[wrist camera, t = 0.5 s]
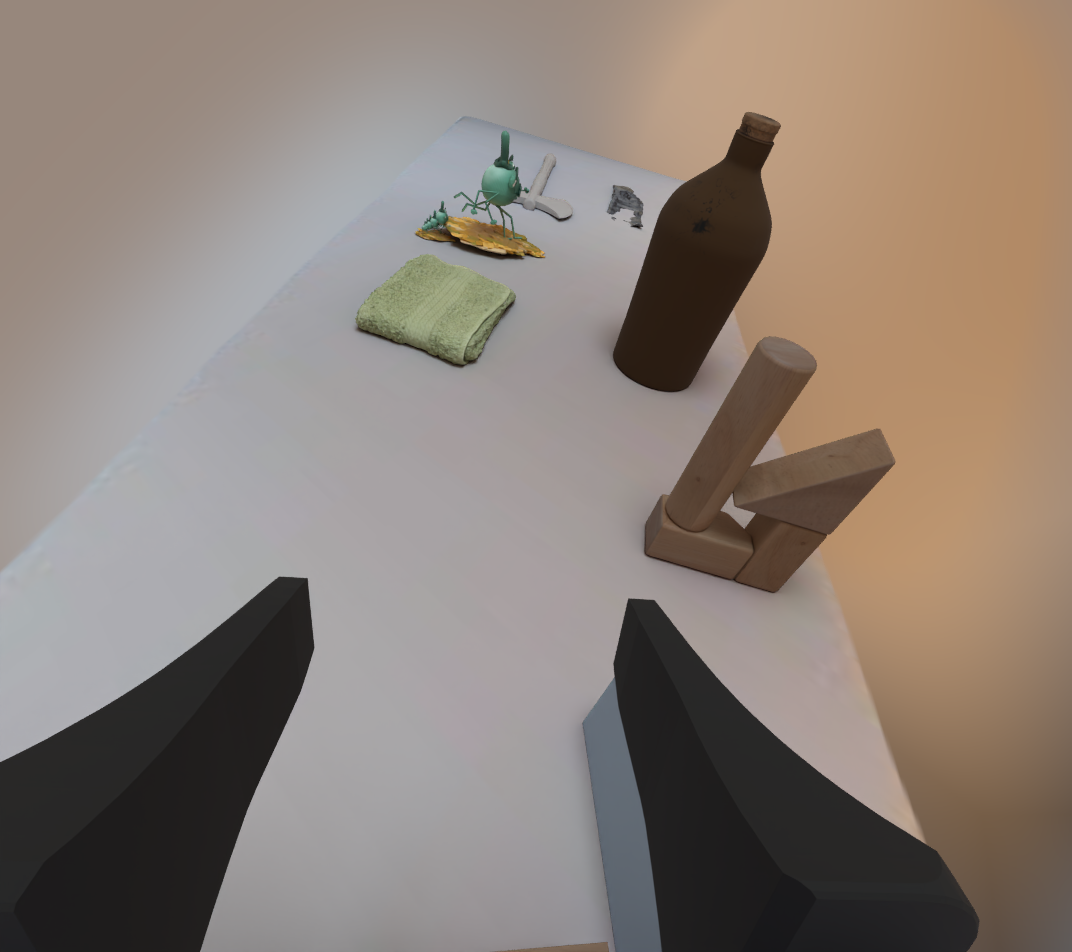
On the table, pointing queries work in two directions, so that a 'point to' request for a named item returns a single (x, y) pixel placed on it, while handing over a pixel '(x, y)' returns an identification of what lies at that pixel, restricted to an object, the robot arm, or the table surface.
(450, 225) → the frog figurine
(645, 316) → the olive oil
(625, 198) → the driftwood
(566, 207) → the axe
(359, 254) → the table surface
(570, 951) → the walnut beam
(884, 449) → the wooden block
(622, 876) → the slate crossbar
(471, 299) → the washcloth
